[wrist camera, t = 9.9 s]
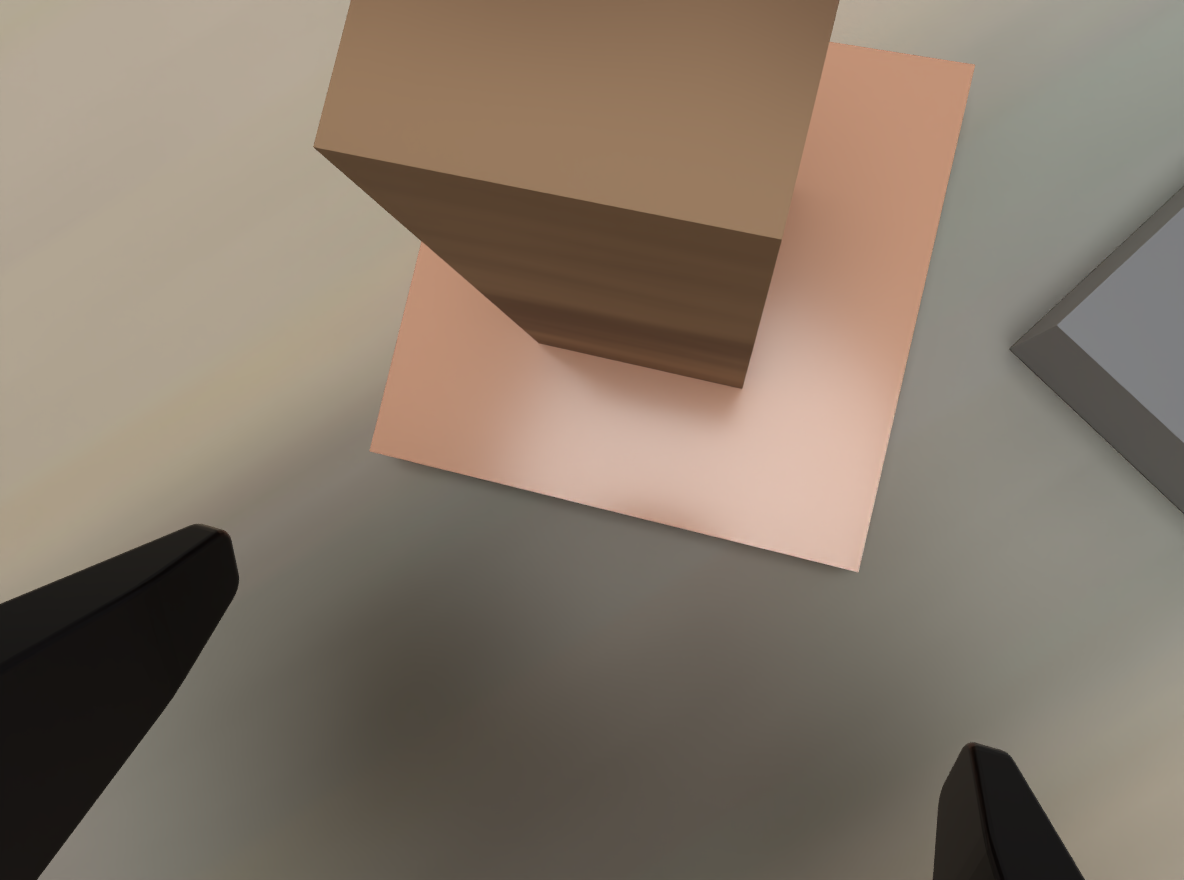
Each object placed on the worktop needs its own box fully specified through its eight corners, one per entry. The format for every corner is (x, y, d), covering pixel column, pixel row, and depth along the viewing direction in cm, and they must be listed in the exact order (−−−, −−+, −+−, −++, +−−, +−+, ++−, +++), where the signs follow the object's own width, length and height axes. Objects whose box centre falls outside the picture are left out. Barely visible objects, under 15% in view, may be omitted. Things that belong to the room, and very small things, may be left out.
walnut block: (742, 389, 20) (781, 239, 8) (538, 343, 21) (312, 146, 9) (791, 183, 20) (899, -247, 9) (587, 145, 21) (427, -301, 9)
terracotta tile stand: (845, 565, 22) (858, 572, 20) (398, 455, 23) (369, 451, 21) (951, 103, 22) (974, 64, 20) (503, 29, 24) (484, -13, 22)
